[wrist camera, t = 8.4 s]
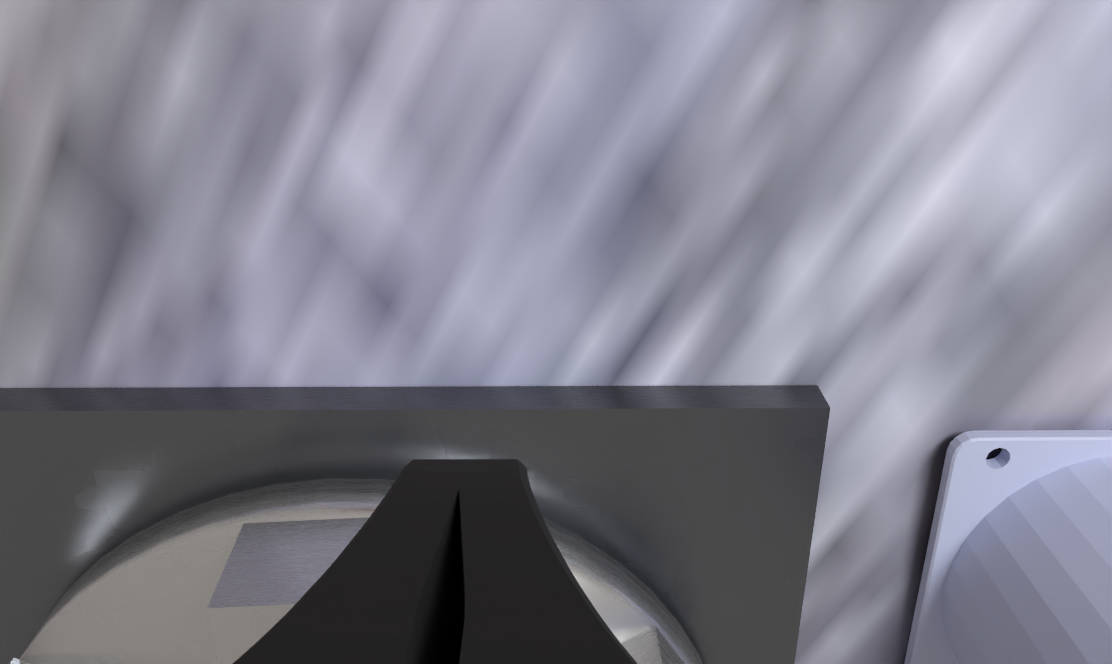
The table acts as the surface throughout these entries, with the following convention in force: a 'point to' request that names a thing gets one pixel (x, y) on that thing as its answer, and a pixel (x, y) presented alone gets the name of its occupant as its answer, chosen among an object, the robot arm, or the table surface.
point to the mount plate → (440, 433)
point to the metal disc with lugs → (278, 581)
